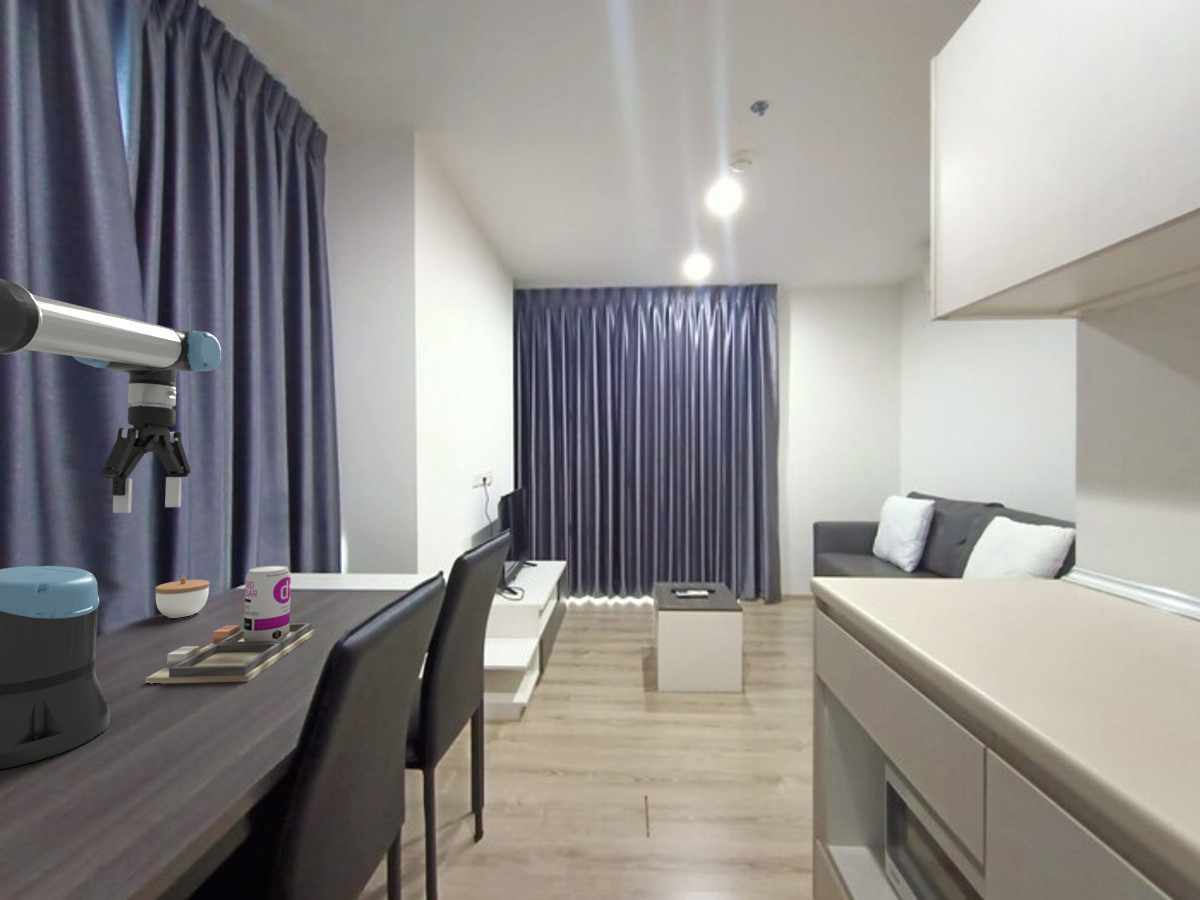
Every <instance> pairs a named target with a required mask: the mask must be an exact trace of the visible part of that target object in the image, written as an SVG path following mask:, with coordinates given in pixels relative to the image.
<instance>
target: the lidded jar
mask: <svg viewBox="0 0 1200 900" xmlns="http://www.w3.org/2000/svg"><path fill="white" fill-rule="evenodd" d="M210 585H211V584H210V581H209V580H205V579H187V577H180V580H177V581H170V582H166V583H162V584H158V585H157V586H155V590H154V591H155V603H156V607H157V609H158V611H159V612H160V613H161V614H163V615H164V616H165V617H166V616H167V617H170V618H178V617H184V616H189V615H193V614H195V613H197V614H198V612H200V611H201V610H202V609H203V608H204V606H205V605H206V603H207V601H208V597H209V592H210ZM167 617H166V618H167ZM178 619H179V618H178Z"/></svg>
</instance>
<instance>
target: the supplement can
mask: <svg viewBox="0 0 1200 900" xmlns="http://www.w3.org/2000/svg"><path fill="white" fill-rule="evenodd" d="M291 582H292V574H291V572H290V570H289V567H288V566H287V565H266V566H265V565H263V566H257V567H254V568H251V569H249V571H248V572H247V575H246V576H245V585H244V586H245V587H244V589H245V590H244V616H243V617H244V618H243V629H244V641H281V640H283V639H284V638H286V636H287V635H288V634H289V624H290V621H291V619H290V618H291V616H290V615H291V588H292V586H291V584H292V583H291Z"/></svg>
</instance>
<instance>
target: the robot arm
mask: <svg viewBox="0 0 1200 900" xmlns="http://www.w3.org/2000/svg"><path fill="white" fill-rule="evenodd" d="M23 350H25V351H33V352H41V353H49V354H55V355H62V356H71V357H73V359H75V360H76V361H78V362H79V363H82V364H84V365H88V366H90V367H91V366H92V367H94V368H96V369H105V370H111V371H116V372H122V373H127V374H129V375H128V378H129V380H128V394H127V403H129V405H131V406H129V407H128V408H127V424H128V425H131V426H133V427H119V428H118V430H117V437H116V440H115V443H114V445H113V447H112V449H111V452H110V454H109V456H108V458H107V460H106V462H105V464H104V466H103V469H102V471H101V472H102V473H101V474H102V475H103V476H105V478H106V479H110V480H112V485H111V486H112V490H111V493H112V494H111V495H112V496H113V497H112V499H113V500H112V513H114V514H130V513H132V497H133V495H132V493H133V478H129V476H130V475H131V474H132V472H133V471H134V470H135V468H136V467H137V465H138V464H139V463H140V462H141V460H142V458H144V455H145V454H147V453H150V452H151V453H153V454H156V455H157V457H158V458H159V460H160V462H161V464H162V466H163V467H164V469H165V470H166V472H167V474H168V475H169V476H166V477H165V497H164V498H165V501H164V504H165V505H164V507H165V508H181V507H182V491H183V478H187V477H189V474H190V473H191V468H190V465H189V462H188V458H187V456H186V451H185V449H184V445H183V442H182V433H181V431H170V428H171V427H174V426H175V425H176V418H177V415H176V413H177V411H176V410H175V409H174V407H175V406H177V402H176V401H177V375H178V374H177V373H178V372H195V373H199V372H211V371H214V370H215V369H217V368H218V367H219V365H220V363H221V360H222V348H221V344H220V343H219V340H218V338H217V337H216V336H215V335H213V334H211V333H210V332H208V331H199V330H198V331H197V330H194V329H193V330H182V329H181V330H180V329H176V328H172V327H167V326H162V325H158V324H154V323H150V322H146V321H142V320H138V319H135V318H134V319H133V318H131V317H126V316H122V315H117V314H114V313H109V312H105V311H101V310H98V309H94V308H89V307H85V306H82V305H77V304H72V303H69V302H64V301H61V300H57V299H53V298H52V299H51V298H48V297H45V296H39V295H35V294H32V293H31V292H30V291H29V290H28V289H27V288H26V287H24V286H22V285H20V284H19V283H16V282H14V281H11V280H7V279H3V278H0V355H9V354H10V355H11V354H16V353H18V352H20V351H23ZM99 605H100V597H99V591H98V581H97V579H96V577H95V575H94V574H93V573H91V572H90V571H87V570H85V569H82V568H79V567H70V566H63V565H62V566H61V565H59V566H58V565H44V566H36V565H35V566H34V565H28V566H27V565H24V566H15V567H8V568H6V567H5V568H1V569H0V770H4V769H8V768H13V767H17V766H18V767H19V766H22V765H26V764H29V763H34V762H37V761H40V760H43V759H47V758H51V757H53V756H56V755H59V754H63V753H64V752H68V751H69V750H72V749H75V748H76V747H79V746H81V745H83V744H85V743H87V742H89V741H91V740H93V739H94V738H96V737H98V736H99V735H100V734H102V733H103V732H104V731H106V729H108V727H109V725H110V722H111V721H110V715H111V713H110V711H111V707H110V705H109V703H108V701H106V698H105V695H104V693H103V690H102V688H101V685H100V682H99V680H98V678H97V674H96V656H97V655H96V653H97V637H98V620H99V619H98V618H99ZM101 732H102V733H101ZM98 734H99V735H98ZM97 735H98V736H97ZM95 736H96V737H95Z"/></svg>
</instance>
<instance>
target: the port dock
mask: <svg viewBox="0 0 1200 900" xmlns="http://www.w3.org/2000/svg"><path fill="white" fill-rule="evenodd" d="M312 628H313V627H312V622H311V623H309V622H305V623H304V622H302V623H301V622H300V623H297V622H296V623H295V622H293V623H290V624H289V634H288V635H287V636H286V638H284V639H283V640H281V641H244V628H242V629H241V625H224V626H222V627H220V628H218V629H216V630H214V631H213V634H212V637H213V638H212V643H209V644H208V645H206V646H204V647H202V648H201V646H200V645H198V646H197V645H196V646H181V647H179V648H177V649H175V650H173V651H170V652H169V653H166V654H167V655H166V657H167V658H166V659H167V661H166V666H165V667H164V668H162V669H160V670H158V671H156V672H154V673H153V674H151V675H149V676H147V677H145V680H144V681H145V683H150V684H151V685H153V683H161V684H190V683H191V684H193V683H195V684H196V683H197V684H198V683H227V682H228V683H231V682H233V683H238V682H250V681H251V680H252V679H254V678H255V677H256V676H258V675H260V674H261V673H262V672H263V671H265V670H267V669H268V668H270V667H271V666H272V665H273V664H275V663H276V662H278V661H279V660H281V659H282V658H283V657H285V656H286V655H288V654H289V653H290V652H291V651H294V650H295V649H296V648H297V647H299V646H301V645H302V644H303V643H305V642H306V641H307V640H308V639H310V638H311V637H313V636H314V635H315V634H316V629H312ZM305 640H306V641H305ZM301 643H302V644H301ZM287 653H288V654H287ZM145 683H144V684H145ZM150 684H149V685H150Z"/></svg>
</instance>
